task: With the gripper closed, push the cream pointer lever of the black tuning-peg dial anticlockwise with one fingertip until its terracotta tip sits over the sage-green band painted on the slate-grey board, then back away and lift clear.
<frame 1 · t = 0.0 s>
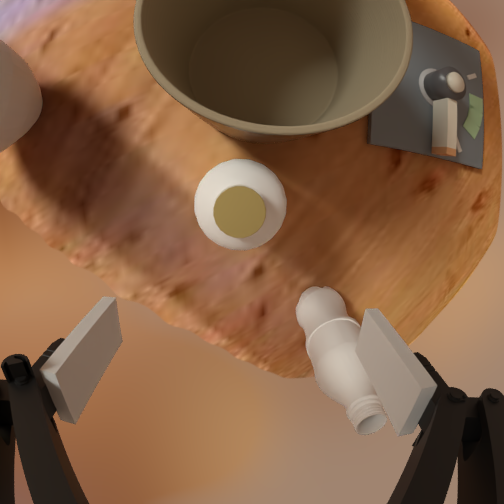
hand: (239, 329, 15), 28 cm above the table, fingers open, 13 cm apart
planter: (263, 69, 36), on the table
dial board: (431, 89, 36), on the table
peg lever: (446, 110, 33), point 4 cm above the table, hinge at 0.0°
potion bottle: (242, 189, 41), on the table
vase: (28, 108, 36), on the table
water bottle: (316, 301, 46), on the table
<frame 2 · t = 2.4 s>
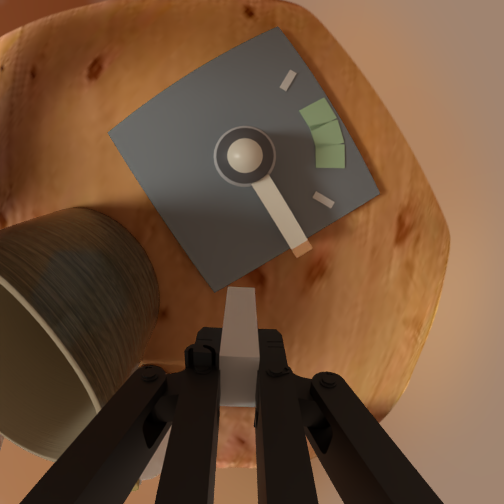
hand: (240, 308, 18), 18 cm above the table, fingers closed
planter: (86, 287, 36), on the table
dial board: (244, 156, 32), on the table
peg lever: (267, 192, 29), point 4 cm above the table, hinge at 0.0°
potion bottle: (153, 383, 41), on the table
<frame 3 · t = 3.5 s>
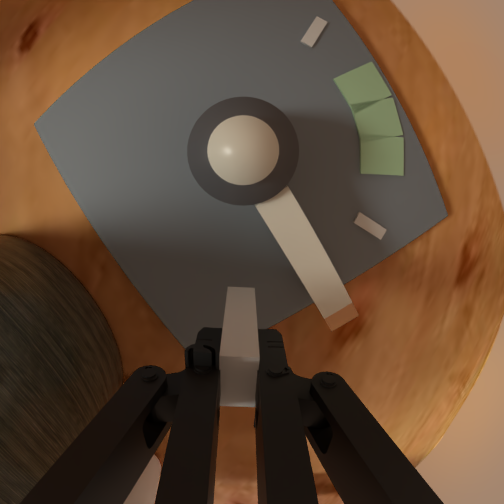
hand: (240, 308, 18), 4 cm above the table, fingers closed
planter: (30, 339, 23), on the table
dial board: (242, 152, 19), on the table
peg lever: (284, 218, 16), point 4 cm above the table, hinge at 0.0°
potion bottle: (128, 451, 28), on the table
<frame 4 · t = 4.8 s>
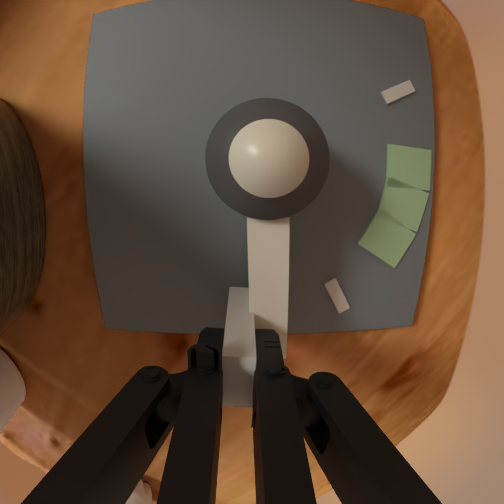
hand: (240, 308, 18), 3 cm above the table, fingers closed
dial board: (262, 159, 18), on the table
peg lever: (266, 245, 15), point 4 cm above the table, hinge at 1.2°, touching gripper
potion bottle: (3, 367, 23), on the table
water bottle: (128, 477, 28), on the table
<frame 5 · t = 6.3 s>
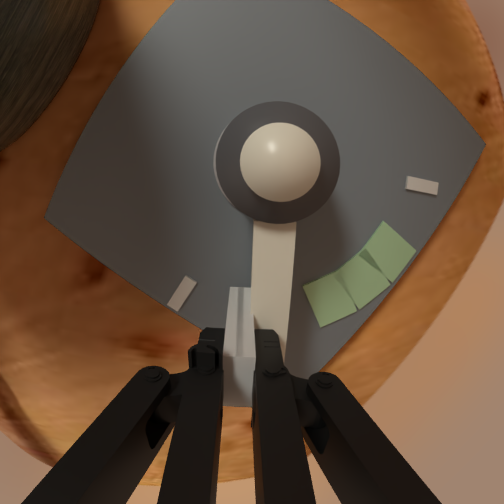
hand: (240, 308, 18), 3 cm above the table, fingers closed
planter: (4, 42, 14), on the table
dial board: (270, 162, 18), on the table
peg lever: (271, 248, 15), point 4 cm above the table, hinge at 32.9°, touching gripper
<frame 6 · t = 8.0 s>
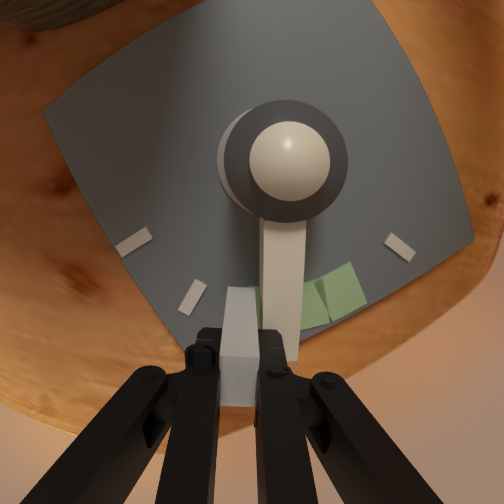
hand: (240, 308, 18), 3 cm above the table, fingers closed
dial board: (273, 160, 18), on the table
peg lever: (280, 247, 15), point 4 cm above the table, hinge at 61.7°
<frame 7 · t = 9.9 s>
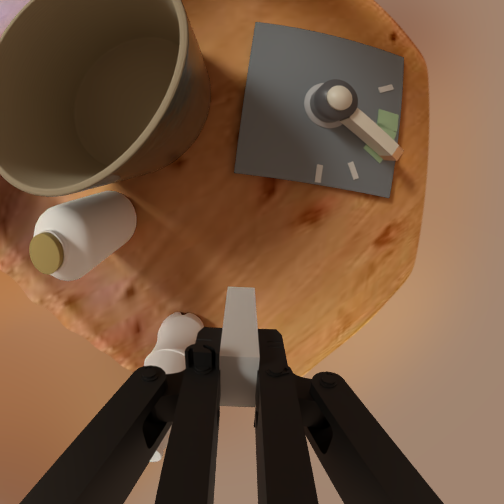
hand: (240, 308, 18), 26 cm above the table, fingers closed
planter: (136, 101, 37), on the table
dial board: (325, 106, 38), on the table
peg lever: (359, 122, 35), point 4 cm above the table, hinge at 61.7°
potion bottle: (113, 217, 42), on the table
water bottle: (186, 325, 47), on the table
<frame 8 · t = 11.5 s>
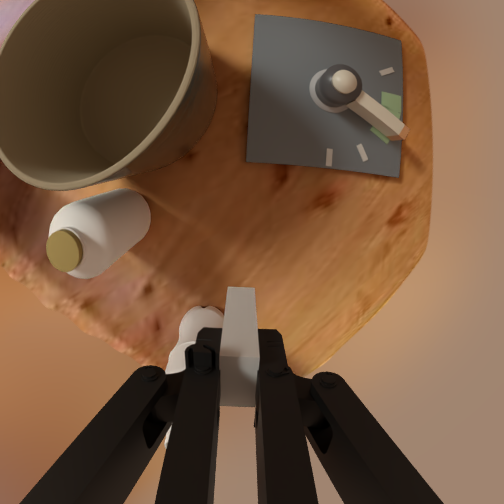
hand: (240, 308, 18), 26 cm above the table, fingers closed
planter: (143, 99, 38), on the table
dial board: (330, 92, 38), on the table
peg lever: (364, 104, 34), point 4 cm above the table, hinge at 61.7°
potion bottle: (127, 215, 42), on the table
water bottle: (206, 319, 47), on the table
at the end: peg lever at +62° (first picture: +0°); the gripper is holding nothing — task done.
